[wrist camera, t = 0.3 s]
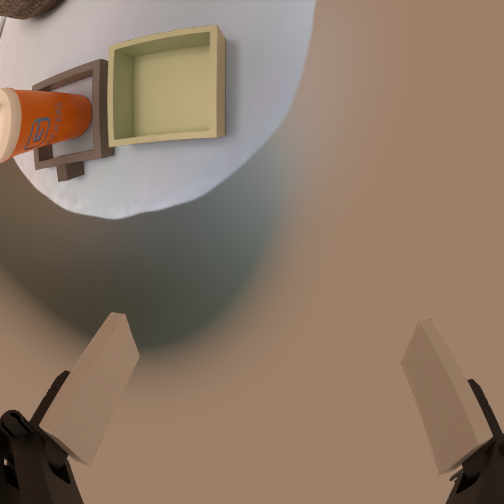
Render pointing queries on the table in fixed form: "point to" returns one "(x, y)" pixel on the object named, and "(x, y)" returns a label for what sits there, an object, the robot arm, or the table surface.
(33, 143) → the shaker bottle
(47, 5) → the planter
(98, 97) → the collar
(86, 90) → the table surface
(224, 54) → the sage holder
